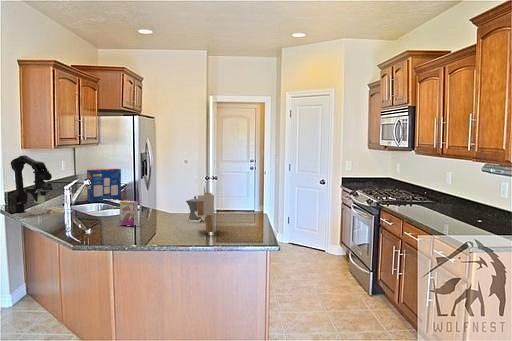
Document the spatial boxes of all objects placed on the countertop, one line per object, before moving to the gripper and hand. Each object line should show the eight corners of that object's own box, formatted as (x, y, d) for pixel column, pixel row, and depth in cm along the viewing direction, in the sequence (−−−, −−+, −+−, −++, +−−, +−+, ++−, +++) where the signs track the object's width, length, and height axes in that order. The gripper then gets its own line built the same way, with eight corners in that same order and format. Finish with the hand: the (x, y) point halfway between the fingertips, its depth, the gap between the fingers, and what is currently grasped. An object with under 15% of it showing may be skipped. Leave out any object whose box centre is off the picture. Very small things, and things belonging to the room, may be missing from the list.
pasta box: (116, 198, 398) (116, 168, 396) (121, 199, 393) (120, 169, 390) (87, 201, 379) (87, 169, 376) (91, 202, 373) (91, 170, 371)
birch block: (44, 214, 317) (44, 208, 316) (56, 212, 326) (56, 206, 325) (54, 215, 312) (54, 210, 312) (65, 213, 322) (65, 208, 321)
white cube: (31, 214, 314) (30, 207, 313) (36, 213, 319) (36, 206, 318) (36, 214, 312) (36, 208, 312) (41, 213, 317) (41, 206, 316)
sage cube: (34, 202, 305) (34, 196, 305) (40, 201, 310) (39, 195, 309) (39, 203, 303) (39, 196, 303) (45, 202, 308) (45, 195, 308)
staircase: (197, 236, 257) (198, 189, 255) (194, 230, 273) (194, 186, 270) (214, 236, 260) (214, 189, 257) (209, 230, 275) (210, 185, 273)
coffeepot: (186, 223, 294) (186, 197, 292) (184, 220, 303) (184, 195, 301) (208, 222, 298) (208, 196, 297) (206, 219, 307) (206, 195, 306)
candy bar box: (119, 225, 280) (119, 201, 279) (124, 224, 285) (123, 200, 284) (133, 227, 277) (133, 202, 275) (138, 226, 282) (138, 201, 280)
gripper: (36, 181, 294) (36, 203, 295) (58, 179, 311) (58, 200, 312) (24, 180, 298) (25, 202, 299) (46, 178, 315) (47, 199, 316)
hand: (39, 201), depth 306 cm, fingers closed on sage cube, 5 cm apart
